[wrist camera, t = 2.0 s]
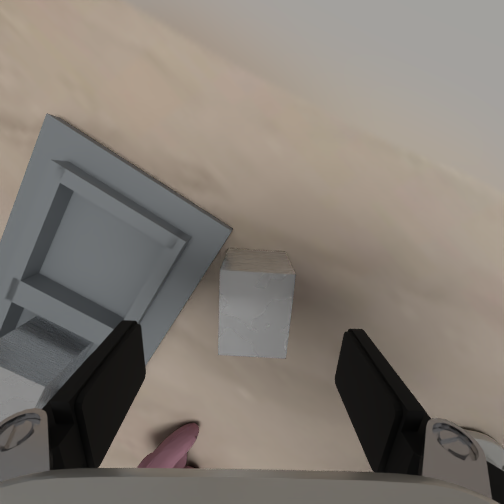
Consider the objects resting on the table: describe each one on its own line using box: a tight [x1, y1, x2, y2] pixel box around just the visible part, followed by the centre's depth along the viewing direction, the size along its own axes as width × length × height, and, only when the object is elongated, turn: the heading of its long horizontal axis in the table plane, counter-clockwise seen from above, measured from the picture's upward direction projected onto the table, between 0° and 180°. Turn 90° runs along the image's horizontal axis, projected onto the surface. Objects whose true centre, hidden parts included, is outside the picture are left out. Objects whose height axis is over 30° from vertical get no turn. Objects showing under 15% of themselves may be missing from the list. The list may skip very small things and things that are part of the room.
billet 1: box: [0, 315, 93, 422], centre depth 18 cm, size 4×6×5 cm
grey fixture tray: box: [0, 114, 233, 366], centre depth 19 cm, size 14×24×2 cm, turn 147°
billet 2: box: [218, 248, 296, 359], centre depth 17 cm, size 4×6×5 cm
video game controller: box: [137, 423, 199, 469], centre depth 22 cm, size 10×5×7 cm, turn 19°
